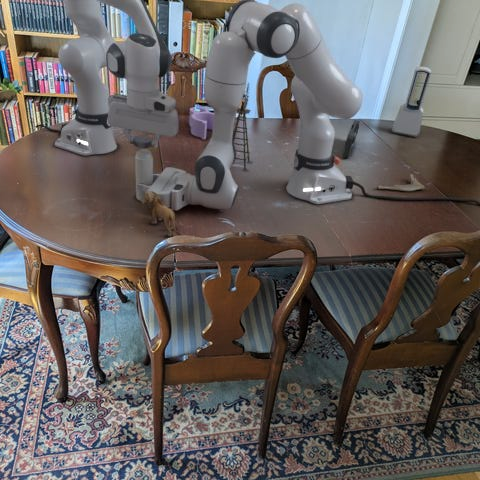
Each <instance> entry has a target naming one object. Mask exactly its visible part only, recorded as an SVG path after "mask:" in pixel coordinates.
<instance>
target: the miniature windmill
mask: <svg viewBox="0 0 480 480" xmlns="http://www.w3.org/2000/svg"><path fill="white" fill-rule="evenodd" d="M249 91H250V82H247V85H246V90H245V91H244V95H243V98H242V99H243V101H241V104H240V107H239V108H238V110H237V113H236V114H238V115H237V117H236V121H235V125H234V132H233V142H234V145H237V146H243V150H239V149H235V150H236V153H237V152H238V153H243V158H239V157H236V159H235V160H238V161H239V160H240V161H243V170H245V171H246V170H247V162H248V163H250V162H251V158H250V153H251V152H250V148H249V137H248V128H247V127H248V126H247V114H250V113H251V111H252V110H251V109H248V108H247V107H248V105H249V103H248V102H249V98H250V96H249V94H250V92H249ZM239 121H242V126H239ZM238 129H242V130H241V131H240V130H238ZM237 133H240V134H243V138H241V137H236V135H237ZM236 139H237V140H240V141H243V143H237V142H235V140H236ZM246 154H247V155H246Z"/></svg>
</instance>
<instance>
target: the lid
mask: <svg viewBox="0 0 480 480" xmlns="http://www.w3.org/2000/svg"><path fill="white" fill-rule="evenodd" d="M153 140H154V138H153V137H152V136H150V135H144V134H143V135H141V134H140V135H139V134H138V135H135V136H134V138H133V144H132V145H133V146H134V147H136V148H139V149H149V148H152V147H151V142H152V141H153Z"/></svg>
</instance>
